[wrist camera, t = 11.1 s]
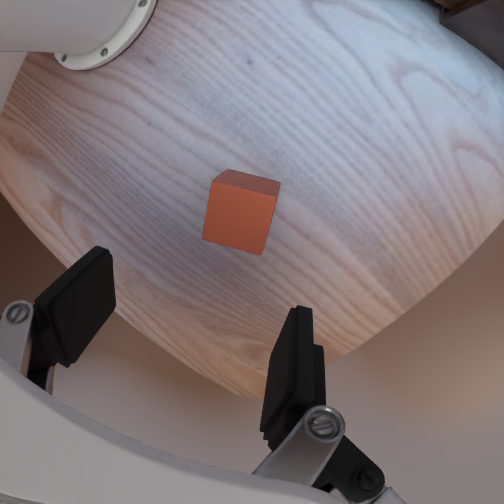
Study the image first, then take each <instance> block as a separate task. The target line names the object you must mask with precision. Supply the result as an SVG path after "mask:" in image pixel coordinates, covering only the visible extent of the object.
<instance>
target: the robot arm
mask: <svg viewBox="0 0 504 504" xmlns="http://www.w3.org/2000/svg"><path fill="white" fill-rule="evenodd" d="M156 1H157V0H0V52H50V53H54V55H55V58H56V59H57V61H58V62H59V63H60V64H61V65H63V66H64V67H65V68H69V69H72V70H90V69H93V68H96V67H99V66H101V65H103V64H105V63H107V62H109V61H111V60H112V59H113V58H115V57H116V56H118V55H119V54H120V53H121V52H123V51H124V50H125V49H126V48H127V47H128V46H129V45H130V44H131V43H132V42H133V41H134V40H135V38H136V37H137V36H138V35H139V34H140V32H141V31H142V29H143V28H144V27H145V25H146V23H147V22H148V20H149V18H150V16H151V14H152V12H153V9H154V7H155V4H156ZM115 307H116V298H115V287H114V275H113V258H112V255H111V254H110V251H109V250H108V249H105V248H102V247H100V246H95V247H94V248H93V249H91V250H90V251H89V252H88V253H86V254H85V255H84V256H83V257H82V258H80V259H79V260H78V261H77V262H76V263H75V264H73V265H72V266H71V267H70V268H69V269H68V270H67V271H66V272H65V273H63V274H62V275H61V276H60V277H59V278H58V279H57V280H56V281H54V282H53V283H52V284H51V285H50V286H49V287H48V288H47V289H46V290H45V291H44V292H43V293H41V294H40V296H38V298H36V299H35V304H34V305H33V306H32V305H31V303H30V302H28V301H25V300H17V301H14V302H12V303H10V304H9V305H8V306H7V307H6V308H5V310H4V312H3V315H2V316H0V504H406V503H405V502H404V501H403V499H402V498H400V497H399V495H398V494H397V493H396V492H395V491H394V490H393V489H392V488H391V487H388V488H387V487H386V486H385V485H384V483H385V478H384V474H383V472H382V470H381V469H380V468H379V467H378V466H377V465H376V464H375V463H374V462H373V461H371V460H370V459H369V458H368V457H367V456H366V455H365V454H364V453H363V452H361V450H359V449H358V448H357V447H356V446H355V445H354V444H353V443H352V442H351V441H350V440H349V439H348V438H347V437H346V436H345V435H344V432H345V421H344V419H343V417H342V416H341V414H340V413H339V412H338V411H337V410H335V409H334V408H331V407H329V406H326V389H325V366H324V350H323V347H322V346H321V345H316V344H314V340H313V314H312V309H311V308H307V307H303V306H299V305H297V307H296V308H291V309H290V311H289V313H288V316H287V318H286V321H285V323H284V325H283V328H282V330H281V332H280V335H279V337H278V339H277V341H276V344H275V346H274V348H273V351H272V353H271V356H270V361H269V368H268V376H267V383H266V390H265V397H264V404H263V410H262V417H261V423H260V432H264V437H263V439H264V440H268V446H269V448H270V449H271V450H272V451H271V452H270V453H269V454H268V455H267V456H266V458H265V459H264V460H263V461H262V462H261V463H260V464H259V465H258V467H257V468H256V469H255V470H254V471H253V472H252V473H251V474H248V473H243V472H238V471H233V470H229V469H225V468H221V467H216V466H213V465H209V464H205V463H201V462H198V461H194V460H191V459H188V458H184V457H181V456H178V455H175V454H172V453H169V452H166V451H163V450H161V449H158V448H155V447H152V446H150V445H147V444H145V443H142V442H140V441H137V440H135V439H133V438H130V437H128V436H126V435H124V434H121V433H119V432H117V431H115V430H113V429H111V428H109V427H107V426H104V425H102V424H100V423H99V422H97V421H95V420H93V419H91V418H89V417H87V416H85V415H84V414H82V413H79V412H78V411H76V410H74V409H73V408H71V407H70V406H68V405H66V404H64V403H63V402H61V401H60V400H58V399H56V398H55V397H53V396H52V389H53V378H54V369H55V365H56V363H57V362H58V363H60V364H61V365H63V366H65V367H66V368H68V367H69V366H70V364H71V363H75V362H76V361H77V359H78V358H79V357H80V355H81V354H82V352H83V351H84V350H85V348H86V347H87V345H88V344H89V343H90V341H91V340H92V339H93V337H94V336H95V335H96V333H97V332H98V331H99V329H100V328H101V327H102V325H103V324H104V323H105V321H106V320H107V319H108V318H109V316H110V315H111V314H112V312H113V311H114V309H115Z"/></svg>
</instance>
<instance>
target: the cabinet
mask: <svg viewBox="0 0 504 504" xmlns="http://www.w3.org/2000/svg"><path fill="white" fill-rule="evenodd" d="M439 23H440V24H442V25H443V26H445V27H447V28H448V29H450V30H451V31H453V32H455V33H456V34H458V35H459V36H461V37H462V38H464V39H465V40H467V41H468V42H469V43H471V44H472V45H474V46H475V47H476V48H478V49H479V50H480V51H482V52H483V53H484V54H485V55H487V56H488V57H489V58H491V59H492V60H493V61H494V62H495V63H497V64H498V65H499V66H500V67H501V68H502V69H504V0H470V1H468V2H466V3H464V4H462V5H460V6H458V7H456V8H454V9H453V10H451V11H450V10H449V9H447V8H445V7H444V6H442V5H441V11H440V21H439Z"/></svg>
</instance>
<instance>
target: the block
mask: <svg viewBox="0 0 504 504" xmlns="http://www.w3.org/2000/svg"><path fill="white" fill-rule="evenodd" d="M279 188H280V182H277V181H273V180H270V179H266V178H262V177H258V176H254V175H250V174H246V173H242V172H238V171H234V170H230V169H226V170H225V171H224V172H223V173H222V174H220V175H219V176H218V177H217V178H216V179H214V180H213V181H212V184H211V189H210V195H209V200H208V206H207V212H206V217H205V223H204V229H203V236H202V239H203V240H206V241H210V242H214V243H217V244H221V245H225V246H228V247H232V248H235V249H239V250H243V251H246V252H250V253H254V254H257V255H262V251H263V248H264V244H265V241H266V237H267V234H268V230H269V227H270V223H271V219H272V216H273V212H274V209H275V205H276V202H277V198H278V193H279Z"/></svg>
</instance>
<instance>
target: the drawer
mask: <svg viewBox="0 0 504 504" xmlns="http://www.w3.org/2000/svg"><path fill="white" fill-rule="evenodd" d="M434 1H435V2H437V3H439V4H440V5H442V6H444V7H445V8H447V9H449V10H450V11H451V10H453V9H454V8H456V7H458V6H460V5H462V4H464V3H466V2H468V1H470V0H434Z"/></svg>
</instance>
